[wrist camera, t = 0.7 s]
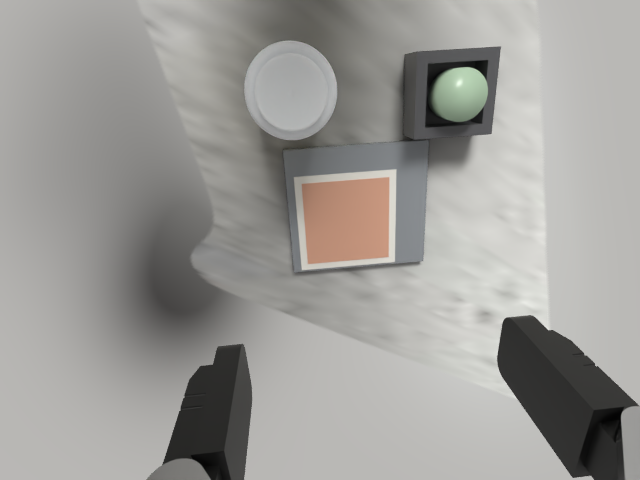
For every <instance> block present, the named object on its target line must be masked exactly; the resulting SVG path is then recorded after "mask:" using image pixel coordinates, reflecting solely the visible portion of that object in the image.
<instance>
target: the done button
mask: <svg viewBox="0 0 640 480" xmlns="http://www.w3.org/2000/svg"><path fill="white" fill-rule="evenodd" d="M487 96H488V86H487V82H486V79H485V77H484V76H483V75H482V74H481V73H480V72H479V71H478V70H476V69H474V68H470V67H462V68H451V69H447V70H445V71H443V72H441V73H440V74H439V75H438V76H437V77H436V78H435V79H434V80H433V82H432V84H431V86H430V88H429V92H428V102H429V106H430V108H431V110H432V112H433V113H434V114H435V115H436V116H438V117H440V118H442V119H446V120H450V121H454V122H464V121H467V120H470V119H472V118H473V117H475V116H476V115H477V114H478V113H479V112H480V111H481V110H482V108H483V107H484V105H485V103H486V100H487Z"/></svg>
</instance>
